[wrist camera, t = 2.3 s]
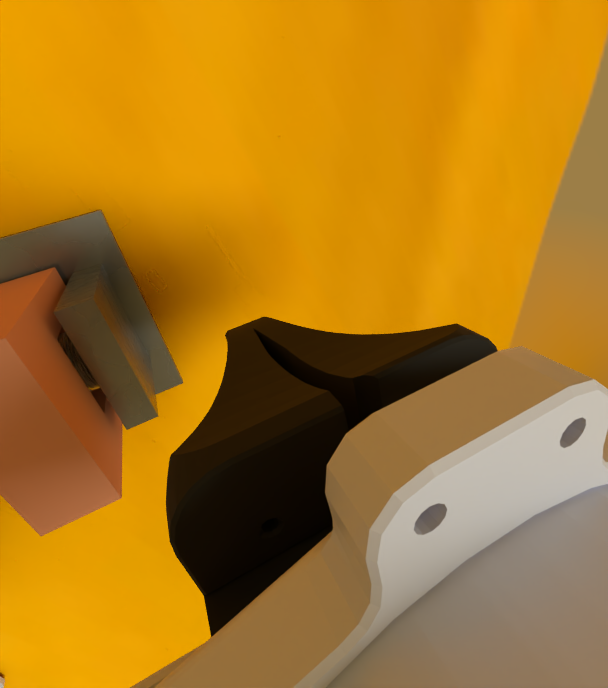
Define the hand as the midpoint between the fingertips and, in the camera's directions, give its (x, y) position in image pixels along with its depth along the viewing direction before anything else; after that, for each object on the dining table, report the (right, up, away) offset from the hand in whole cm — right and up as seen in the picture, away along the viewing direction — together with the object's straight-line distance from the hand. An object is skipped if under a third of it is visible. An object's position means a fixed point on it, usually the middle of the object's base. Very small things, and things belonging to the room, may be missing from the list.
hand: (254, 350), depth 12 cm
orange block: (-9, +1, +5) cm, 11 cm away
